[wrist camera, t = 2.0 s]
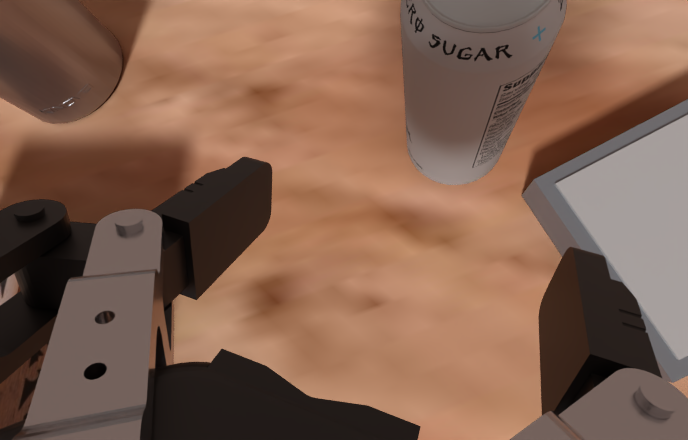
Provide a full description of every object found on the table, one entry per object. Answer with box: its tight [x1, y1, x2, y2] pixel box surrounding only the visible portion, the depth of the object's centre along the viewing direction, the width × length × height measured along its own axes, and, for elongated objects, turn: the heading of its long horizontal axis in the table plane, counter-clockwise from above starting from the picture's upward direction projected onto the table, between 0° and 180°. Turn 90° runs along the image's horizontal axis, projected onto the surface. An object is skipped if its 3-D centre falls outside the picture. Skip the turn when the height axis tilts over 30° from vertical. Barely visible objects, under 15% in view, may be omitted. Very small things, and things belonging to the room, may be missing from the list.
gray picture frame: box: [522, 99, 688, 383], centre depth 24 cm, size 12×12×3 cm
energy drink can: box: [400, 0, 567, 185], centre depth 22 cm, size 6×6×15 cm
